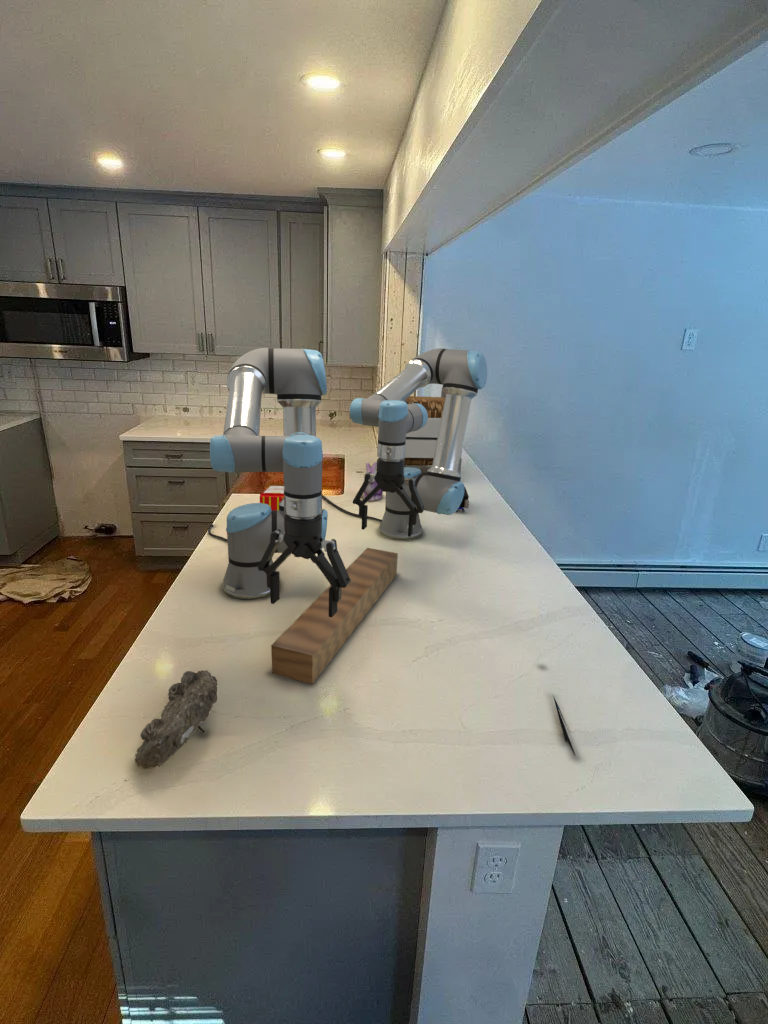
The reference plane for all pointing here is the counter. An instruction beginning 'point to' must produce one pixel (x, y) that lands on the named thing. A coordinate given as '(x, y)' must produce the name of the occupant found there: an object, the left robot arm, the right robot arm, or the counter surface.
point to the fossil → (178, 718)
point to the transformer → (425, 433)
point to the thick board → (332, 619)
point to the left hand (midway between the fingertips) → (303, 607)
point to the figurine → (372, 483)
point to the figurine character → (464, 501)
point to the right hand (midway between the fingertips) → (386, 531)
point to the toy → (272, 496)
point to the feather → (563, 726)
